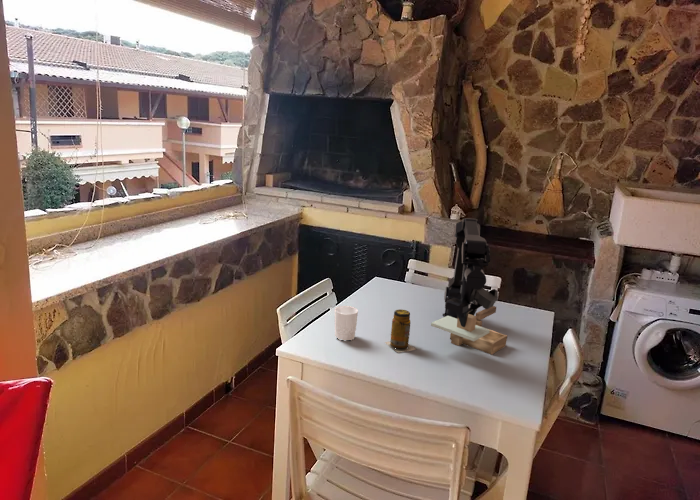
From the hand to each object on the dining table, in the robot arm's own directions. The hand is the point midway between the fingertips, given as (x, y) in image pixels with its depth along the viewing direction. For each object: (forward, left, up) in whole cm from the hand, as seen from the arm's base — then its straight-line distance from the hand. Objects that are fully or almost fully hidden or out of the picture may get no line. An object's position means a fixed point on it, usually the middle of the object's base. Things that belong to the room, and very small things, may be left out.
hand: (465, 325), depth 165 cm
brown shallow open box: (-2, +13, -11) cm, 17 cm away
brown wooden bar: (-6, +26, -5) cm, 27 cm away
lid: (-2, 0, -2) cm, 3 cm away
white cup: (-35, -19, -11) cm, 41 cm away
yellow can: (-18, -10, -11) cm, 23 cm away
